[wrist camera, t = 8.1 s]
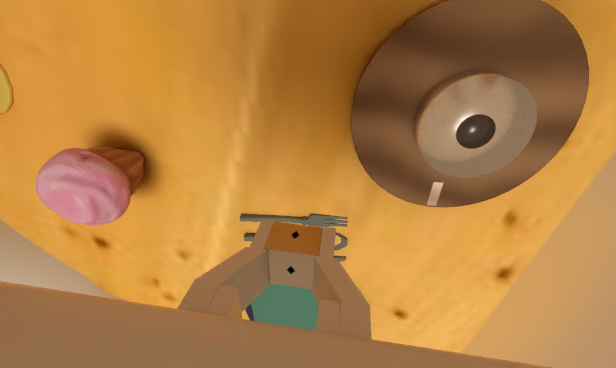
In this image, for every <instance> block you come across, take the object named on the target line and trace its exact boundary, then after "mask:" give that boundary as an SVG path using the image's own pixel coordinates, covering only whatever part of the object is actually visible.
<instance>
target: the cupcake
mask: <svg viewBox="0 0 616 368" xmlns="http://www.w3.org/2000/svg"><path fill="white" fill-rule="evenodd" d="M143 164H144V158H143V156H142V155H141V154H140V153H139V152H137V151H133V150H122V149H118V148H113V147H95V148H89V149H85V150H84V149H78V148H71V149H66V150H63V151H61V152H59V153H57V154H56V155H54V156H53V157H52V158H51V159H50V160H49V161H47V162H46V164H45V165H43V167H42V168H41V169H40V171H39V173H38V176H37V178H36V191H37V194H38V196H39V198H40V199H41V201H42V202H43V203H44V205H46V206H47V207H48V208H50V209H52V210H53V211H55V212H56V213H58V214H59V215H60V216H62V217H63V218H65V219H67V220H69V221H71V222H74V223H78V224H86V225H100V224H107V223H110V222H113V221H115V220H116V219H118V218H119V217H121V216H122V215H123V214H124V212H125V211H126V209H127V207H128V206H129V203H130V197H131V195H132V194H133V193H134V192H135V191H136V190H137V189H138V188H139V187H140V185H141V184H142V182H143V173H144V170H143Z"/></svg>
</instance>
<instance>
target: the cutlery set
mask: <svg viewBox="0 0 616 368" xmlns="http://www.w3.org/2000/svg"><path fill="white" fill-rule="evenodd" d="M333 219H347V217H339V216H330V215H321V214H310V215H309V217H305V216H303V218H299V217H290V216H275V215H249V214H241V216H240V221H254V222H259V221H263V220H267V221H277V222H291V223H302V224H303V225H307V224H308V226H315V227H330V226H345V227H347V225H346V224H336V223H347V221H342V220H333ZM335 235H337V236H339V237H340V238H341V243H340V244H338V245H336V246H334V250H339V249H341V248H343V247H346V246H347V240H346V239H345V238H343V237H341V236H340V235H338V234H335ZM254 236H255V235H253V234H245V235H244V241H253V239H254ZM333 258H335V259H338V261H339V262H341V261H344V260H346V257H342V256H333ZM318 309H319V305H318V303H317V300H316V298H315V296H314V294H313V291H312V290H311V289H305V288H299V287H293V286H285V285H277V284H269V286H268V287H267V288H266V289H265V290H264V291H263V292H262V293H261V294H260V295H259V296H258V297H257V298H256V299H255V300H254V301H253V302H252V303H251V304H250V305H249V306H248V307H247V308H246V312H247V314H248V317H249V319H250V320H251V321H257V322H264V323H270V324H276V325H283V326H289V327H296V328H302V329H308V330H315V331H316V324H317V316H318Z"/></svg>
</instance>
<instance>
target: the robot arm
mask: <svg viewBox="0 0 616 368" xmlns="http://www.w3.org/2000/svg"><path fill="white" fill-rule="evenodd" d="M335 233H336V229H335V228H327V227H315V226H306V225H297V224H290V223H283V222H276V221H275V222H274V221H267V220H263V221H262V222H261V223H260V225H259V228H258V230H257V232H256V234H255V236H254V239H253V241H252V243H251V245H250V247H245V248H244V249H242V250H241V251H239V252H238V253H236V254H234V255H233V256H231V257H230V258H228V259H227V260H225V261H224V262H222V263H220V264H219V265H217V266H216V267H214V268H213V269H211V270H209V271H208V272H206V273H205V274H203V275H202V276H200V277H199V278H197V279H195V280H194V282H193V284H192V285H191V287H190V289H189V290H188V292H187V293H186V295H185V297H184V298H183V300H182V302H181V303H180V305H179V307H178V308H177V309H174V308H168V307H162V306H155V305H149V304H142V303H136V302H130V301H123V300H117V299H110V298H104V297H98V296H91V295H85V294H79V293H72V292H66V291H59V290H53V289H46V288H40V287H33V286H27V285H21V284H14V283H7V282H2V281H0V368H551V367H544V366H537V365H532V364H525V363H519V362H513V361H506V360H500V359H493V358H487V357H481V356H474V355H468V354H461V353H455V352H449V351H443V350H436V349H430V348H424V347H417V346H411V345H404V344H398V343H392V342H385V341H379V340H373V339H371V322H370V305H369V304H368V303H367V301H366V300H365V298H364V297H363V295H362V294H361V292H360V291H359V290H358V288H357V287H356V285H355V284H354V282H353V281H352V280H351V278H350V277H349V275H348V274H347V272H346V271H345V270H344V268H343V267H342V265H341V264H340V262H339V261H338V259H335V258H333V256H334V245H335ZM269 284H277V285H285V286H293V287H299V288H305V289H311V290H312V291H313V294H314V296H315V298H316V300H317V303H318V305H319V309H318V316H317V324H316V331H315V330H308V329H302V328H296V327H289V326H283V325H276V324H270V323H264V322H257V321H251V320H245V319H242V313H241V312H242V311H243V310H245V309H246V308H247V307H248V306H249V305H250V304H251V303H252V302H253V301H254V300H255V299H256V298H257V297H258V296H259V295H260V294H261V293H262V292H263V291H264V290H265V289H266V288H267V287H268V286H269Z"/></svg>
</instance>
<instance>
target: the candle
mask: <svg viewBox="0 0 616 368" xmlns="http://www.w3.org/2000/svg"><path fill="white" fill-rule="evenodd" d="M12 104H13V88H12V86H11V83H10V81H9V78H8V76H7V74H6V71H5V70H4V69H3V67H2V66H1V64H0V114H2V113H5V112H8V111H9V109H10V107H11V106H12Z"/></svg>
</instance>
